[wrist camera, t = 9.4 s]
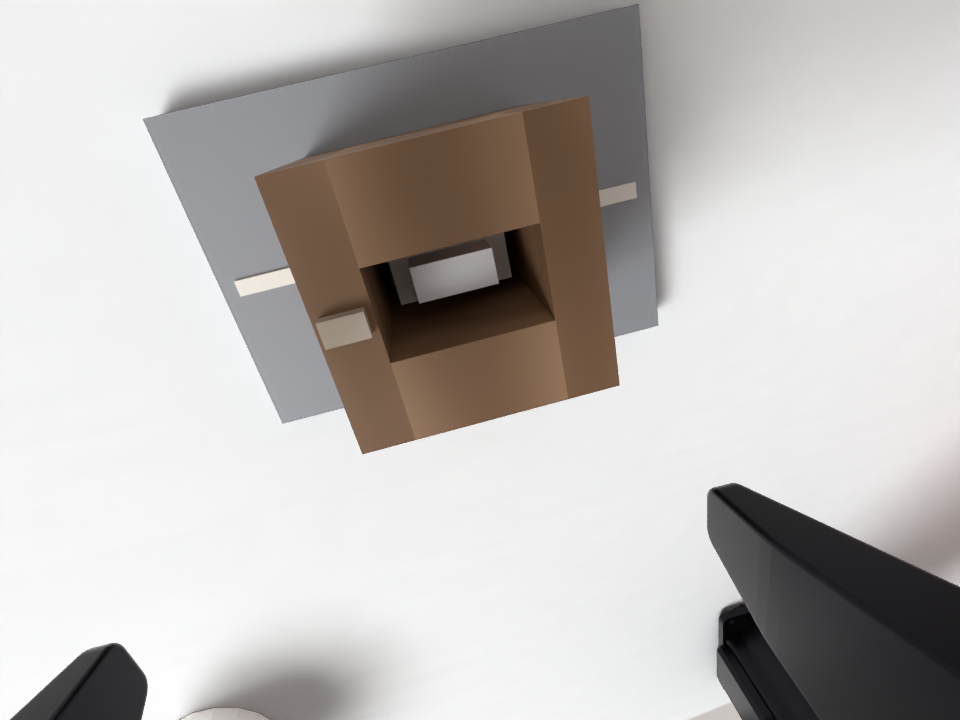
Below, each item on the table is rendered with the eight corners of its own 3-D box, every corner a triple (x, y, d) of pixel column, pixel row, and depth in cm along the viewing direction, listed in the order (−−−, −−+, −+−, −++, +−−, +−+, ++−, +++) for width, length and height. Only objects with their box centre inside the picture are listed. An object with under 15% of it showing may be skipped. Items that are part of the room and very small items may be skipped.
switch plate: (624, 10, 15) (733, -42, 10) (646, 316, 20) (730, 380, 15) (157, 119, 15) (38, 117, 10) (287, 409, 19) (250, 509, 14)
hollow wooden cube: (519, 105, 15) (594, 95, 9) (551, 306, 18) (624, 391, 12) (305, 157, 15) (249, 178, 9) (372, 352, 18) (361, 461, 12)
